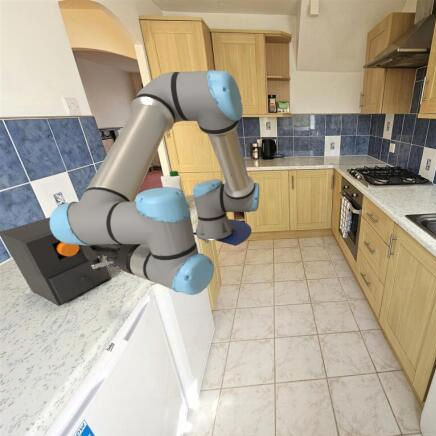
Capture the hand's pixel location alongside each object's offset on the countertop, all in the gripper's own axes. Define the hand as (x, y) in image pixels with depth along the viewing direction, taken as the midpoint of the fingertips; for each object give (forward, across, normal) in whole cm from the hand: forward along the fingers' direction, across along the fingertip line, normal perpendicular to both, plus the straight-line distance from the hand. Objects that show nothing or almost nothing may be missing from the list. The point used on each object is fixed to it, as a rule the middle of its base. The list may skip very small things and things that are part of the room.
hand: (82, 237), depth 60 cm
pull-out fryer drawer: (+16, 0, -19) cm, 25 cm away
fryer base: (+18, 0, -20) cm, 27 cm away
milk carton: (+42, +61, -21) cm, 77 cm away
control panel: (+18, 0, -10) cm, 21 cm away
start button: (+10, 0, -7) cm, 13 cm away
